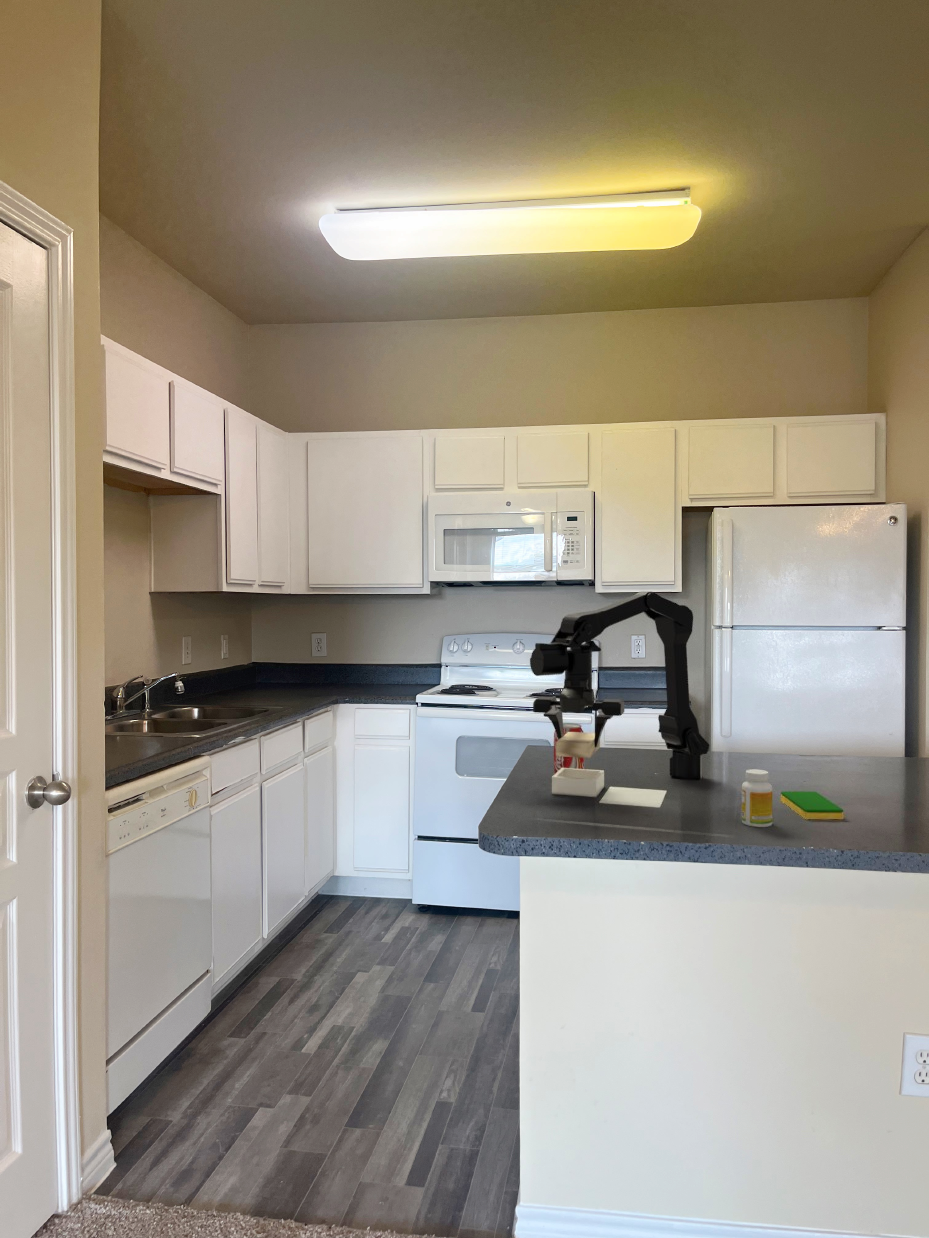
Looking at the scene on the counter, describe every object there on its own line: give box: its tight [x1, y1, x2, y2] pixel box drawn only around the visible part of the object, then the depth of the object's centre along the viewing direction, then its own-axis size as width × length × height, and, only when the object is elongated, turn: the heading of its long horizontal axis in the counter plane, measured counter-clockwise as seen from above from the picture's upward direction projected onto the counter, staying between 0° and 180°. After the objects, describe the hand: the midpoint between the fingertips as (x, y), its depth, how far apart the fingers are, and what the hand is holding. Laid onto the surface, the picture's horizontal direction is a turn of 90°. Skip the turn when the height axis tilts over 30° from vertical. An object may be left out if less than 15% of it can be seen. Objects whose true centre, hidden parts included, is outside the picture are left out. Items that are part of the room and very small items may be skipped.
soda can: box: [553, 722, 585, 775], centre depth 192 cm, size 7×7×12 cm
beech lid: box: [556, 732, 601, 759], centre depth 177 cm, size 7×12×3 cm, turn 161°
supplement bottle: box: [741, 768, 774, 828], centre depth 153 cm, size 5×5×10 cm
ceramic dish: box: [551, 768, 605, 798], centre depth 178 cm, size 9×9×4 cm
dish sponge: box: [780, 790, 844, 820], centre depth 163 cm, size 7×14×2 cm, turn 178°
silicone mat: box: [598, 786, 667, 809], centre depth 172 cm, size 12×14×1 cm
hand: (578, 746), depth 177 cm, fingers closed on beech lid, 7 cm apart
